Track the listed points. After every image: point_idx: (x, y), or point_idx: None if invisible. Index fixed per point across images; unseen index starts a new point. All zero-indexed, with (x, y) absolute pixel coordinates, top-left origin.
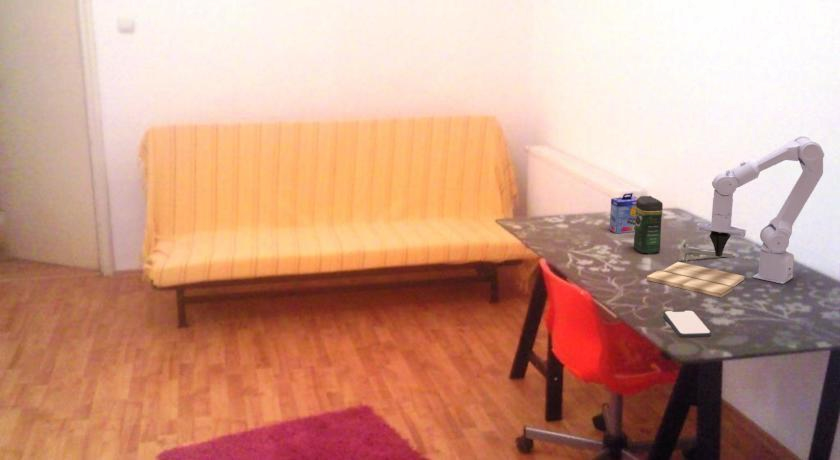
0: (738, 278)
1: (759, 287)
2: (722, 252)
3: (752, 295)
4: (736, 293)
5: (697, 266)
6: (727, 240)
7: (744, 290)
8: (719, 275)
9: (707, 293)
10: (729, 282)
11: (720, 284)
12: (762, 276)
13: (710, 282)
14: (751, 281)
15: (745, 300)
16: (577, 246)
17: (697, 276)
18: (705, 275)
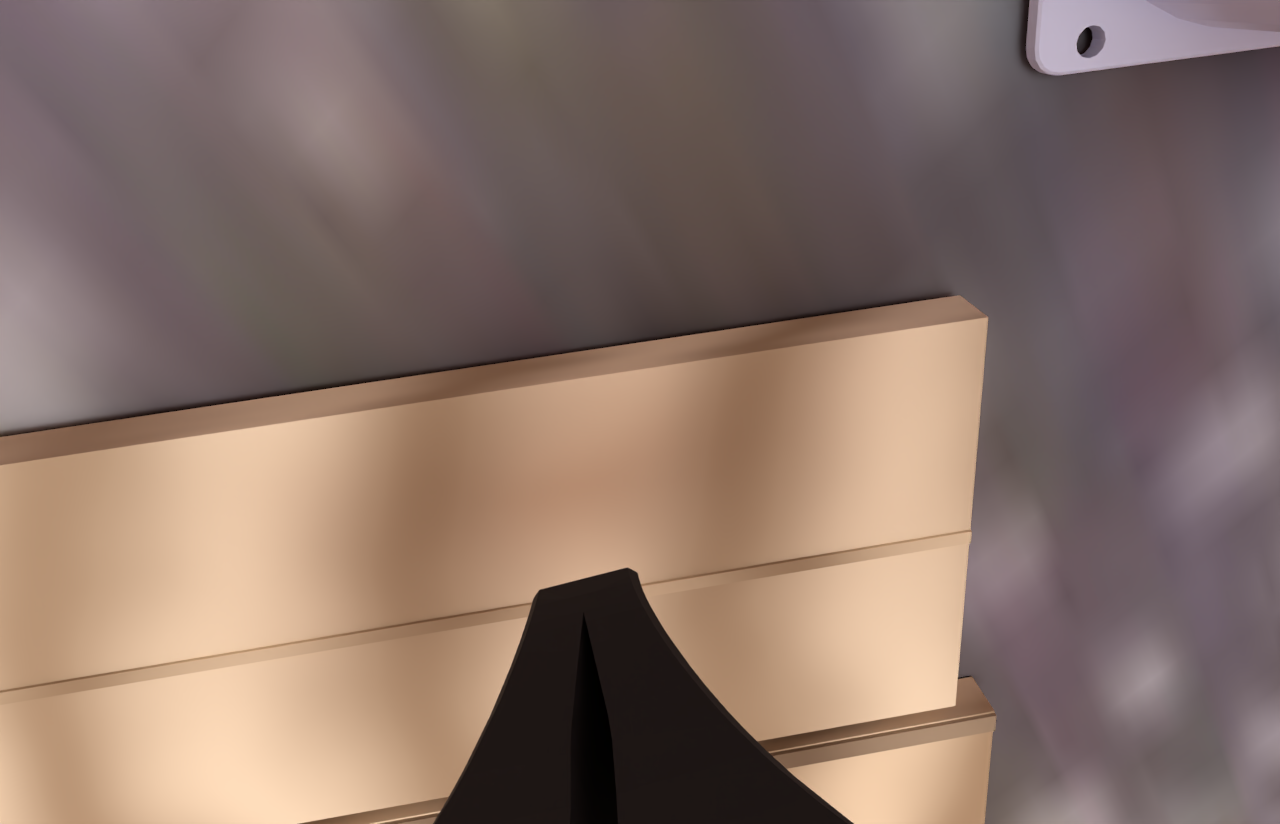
0: (952, 460)
1: (1210, 375)
2: (646, 602)
3: (1201, 645)
4: (1040, 712)
5: (172, 463)
6: (820, 811)
7: (1082, 587)
8: (682, 543)
9: None
10: (910, 646)
11: (850, 755)
12: (1203, 23)
13: None
14: (1052, 237)
15: (1175, 787)
16: None
17: None
18: None
